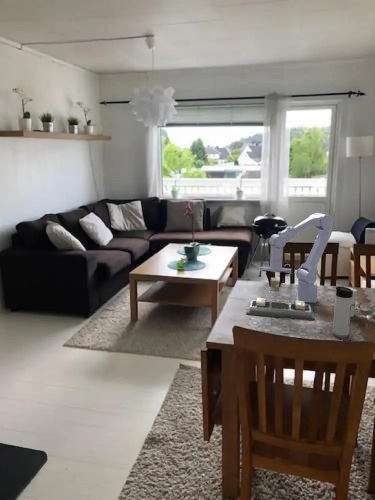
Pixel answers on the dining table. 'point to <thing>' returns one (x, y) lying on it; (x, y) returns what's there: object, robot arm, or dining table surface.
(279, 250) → the robot arm
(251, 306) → the rail
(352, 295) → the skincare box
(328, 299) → the dining table surface
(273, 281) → the birch block
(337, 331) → the travel mug
